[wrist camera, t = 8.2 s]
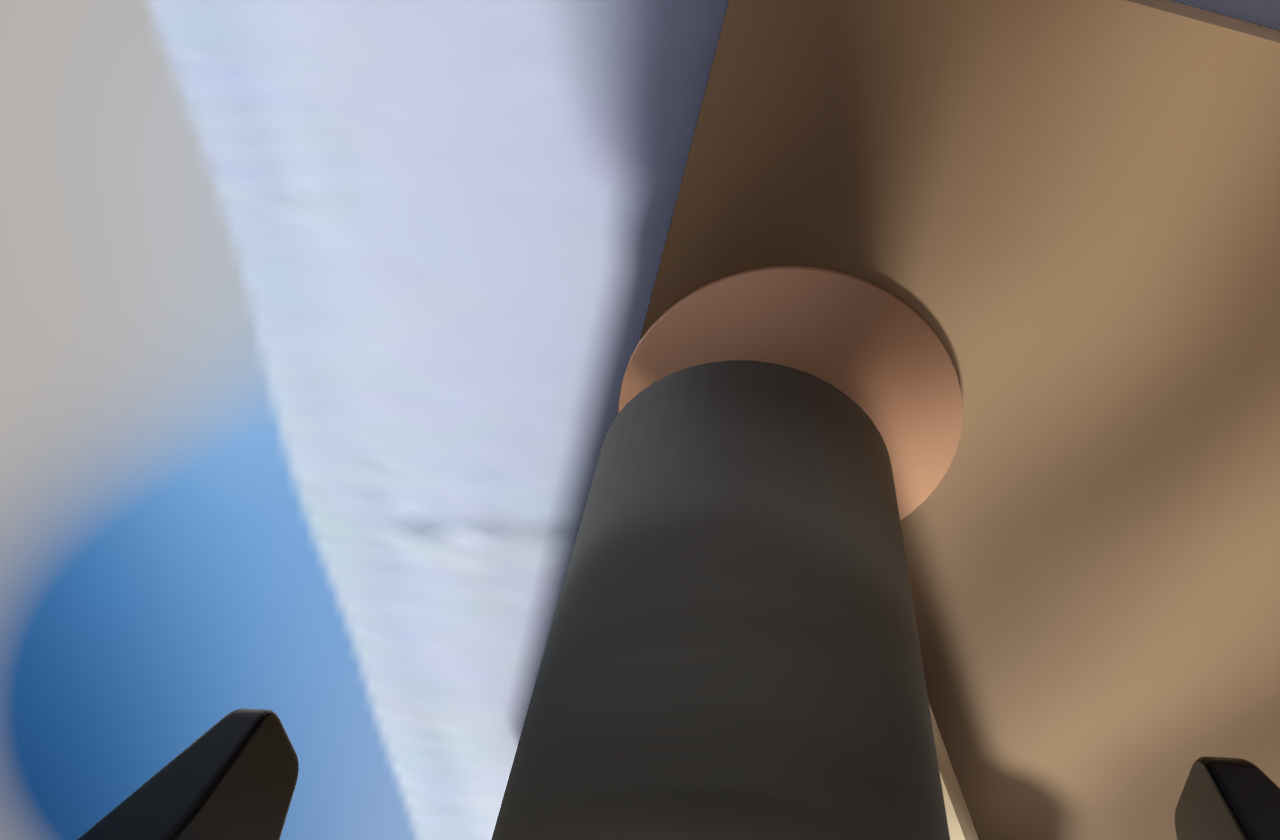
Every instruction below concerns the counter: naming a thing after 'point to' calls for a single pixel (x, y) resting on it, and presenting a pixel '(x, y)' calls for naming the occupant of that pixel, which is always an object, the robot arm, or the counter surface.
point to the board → (1024, 358)
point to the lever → (735, 633)
